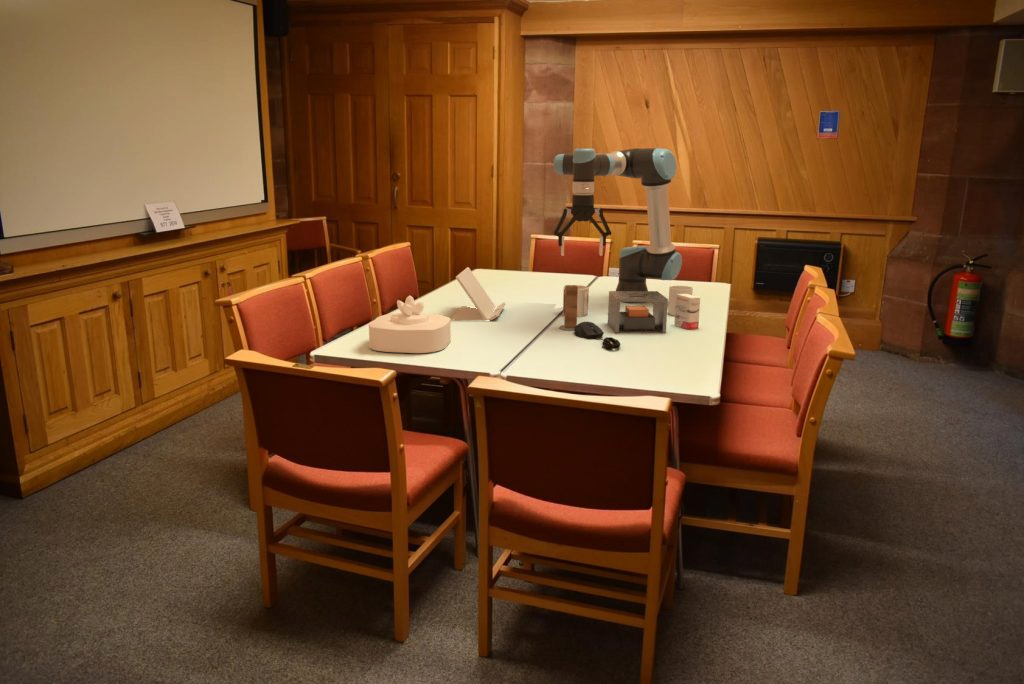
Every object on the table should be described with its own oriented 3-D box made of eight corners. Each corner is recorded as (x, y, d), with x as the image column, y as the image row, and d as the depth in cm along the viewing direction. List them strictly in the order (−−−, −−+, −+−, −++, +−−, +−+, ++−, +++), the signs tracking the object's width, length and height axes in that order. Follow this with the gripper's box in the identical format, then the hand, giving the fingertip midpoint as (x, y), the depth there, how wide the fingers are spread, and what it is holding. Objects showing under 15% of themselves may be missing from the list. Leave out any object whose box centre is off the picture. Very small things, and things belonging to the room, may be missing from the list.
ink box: (699, 328, 282) (701, 296, 279) (688, 329, 280) (690, 297, 277) (684, 324, 290) (686, 293, 287) (673, 325, 288) (675, 293, 285)
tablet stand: (450, 320, 293) (450, 275, 289) (461, 308, 317) (461, 266, 313) (498, 322, 291) (498, 277, 287) (505, 309, 315) (506, 267, 311)
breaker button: (624, 322, 285) (625, 306, 283) (643, 322, 285) (644, 306, 284) (628, 326, 278) (629, 309, 277) (647, 326, 278) (648, 309, 277)
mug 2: (688, 318, 300) (690, 290, 297) (665, 316, 303) (667, 288, 301) (694, 313, 310) (696, 285, 308) (672, 311, 314) (674, 283, 311)
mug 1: (594, 315, 304) (595, 287, 301) (575, 319, 296) (576, 290, 293) (573, 311, 311) (574, 284, 308) (554, 315, 302) (554, 287, 300)
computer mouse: (588, 331, 278) (589, 318, 277) (628, 349, 253) (629, 335, 252) (568, 333, 275) (568, 319, 274) (606, 351, 250) (607, 337, 248)
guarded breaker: (607, 323, 289) (609, 291, 286) (655, 323, 290) (657, 291, 287) (615, 333, 274) (616, 299, 271) (665, 333, 275) (667, 299, 272)
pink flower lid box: (439, 354, 244) (439, 303, 240) (362, 350, 247) (360, 301, 243) (455, 336, 268) (454, 290, 264) (384, 333, 271) (383, 287, 267)
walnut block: (564, 326, 282) (565, 285, 279) (575, 326, 283) (576, 285, 279) (565, 328, 278) (566, 287, 275) (576, 328, 279) (577, 287, 275)
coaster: (558, 325, 284) (558, 324, 284) (579, 325, 285) (579, 324, 285) (560, 330, 277) (560, 329, 277) (582, 330, 277) (582, 329, 277)
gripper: (548, 194, 265) (547, 256, 270) (620, 194, 266) (618, 256, 271) (546, 193, 272) (545, 253, 278) (617, 193, 273) (615, 253, 278)
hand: (581, 255), depth 274 cm, fingers open, 13 cm apart
